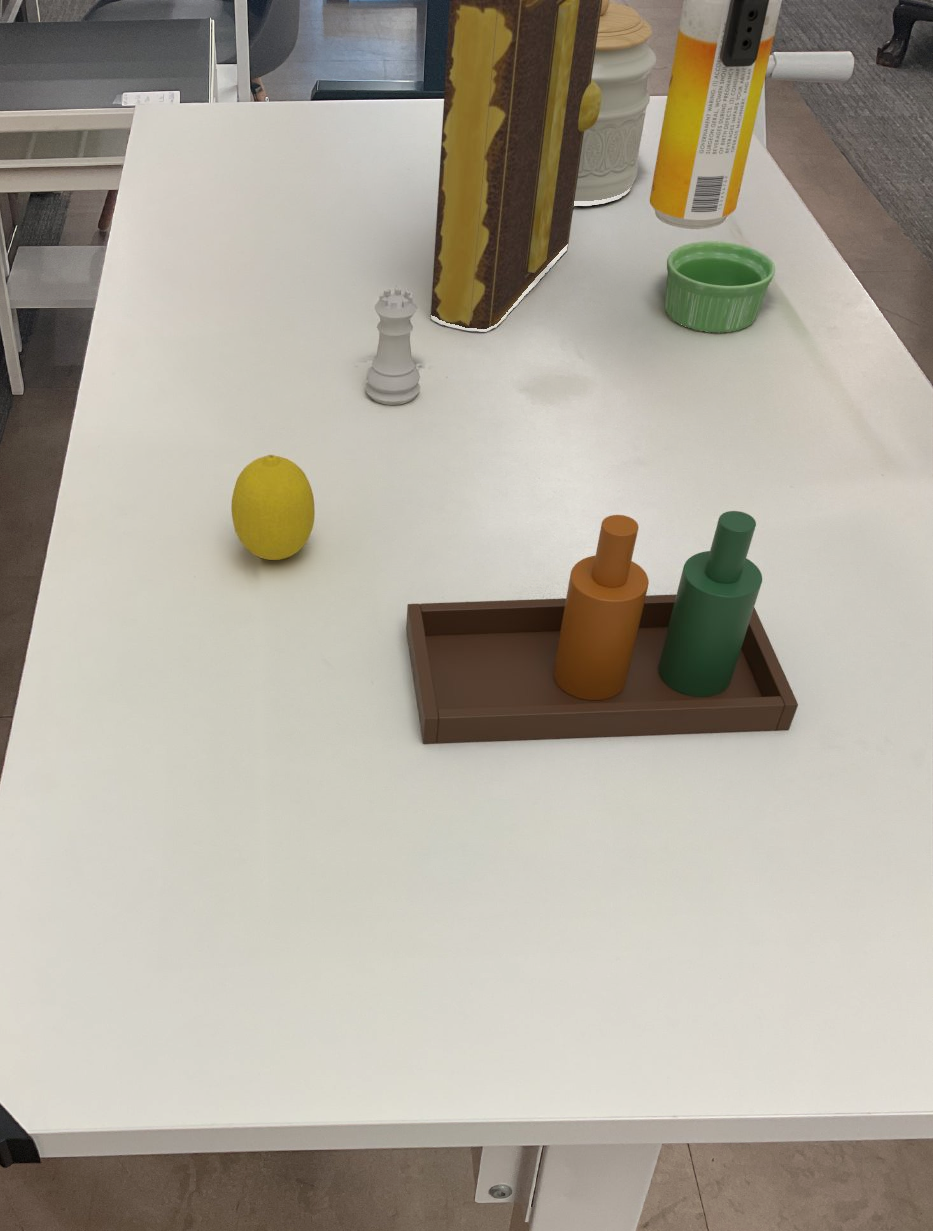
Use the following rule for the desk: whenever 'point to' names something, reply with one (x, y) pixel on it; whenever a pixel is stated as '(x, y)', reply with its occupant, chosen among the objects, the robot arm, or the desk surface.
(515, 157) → the book
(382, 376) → the rook chess piece
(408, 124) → the desk surface
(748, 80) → the beer can
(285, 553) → the lemon
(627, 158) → the jar
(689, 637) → the green bottle
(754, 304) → the ramekin
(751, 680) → the tray
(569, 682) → the amber bottle
